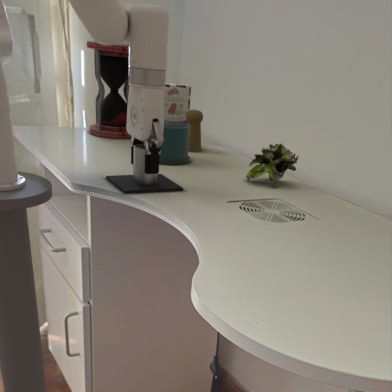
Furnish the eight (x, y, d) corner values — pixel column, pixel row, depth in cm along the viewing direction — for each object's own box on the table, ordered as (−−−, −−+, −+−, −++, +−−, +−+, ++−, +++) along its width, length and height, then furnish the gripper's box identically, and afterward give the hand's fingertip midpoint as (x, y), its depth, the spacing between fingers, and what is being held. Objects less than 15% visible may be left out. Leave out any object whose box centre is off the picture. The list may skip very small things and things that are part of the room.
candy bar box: (184, 140, 155) (188, 84, 146) (187, 143, 151) (192, 86, 142) (150, 138, 152) (152, 81, 143) (153, 142, 148) (155, 83, 139)
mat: (124, 193, 100) (124, 190, 99) (106, 178, 108) (106, 175, 108) (183, 190, 106) (183, 187, 106) (161, 176, 114) (161, 173, 114)
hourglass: (117, 141, 144) (117, 45, 131) (78, 131, 151) (74, 39, 137) (148, 135, 156) (151, 47, 142) (111, 127, 163) (111, 41, 149)
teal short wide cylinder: (152, 165, 123) (154, 128, 118) (133, 153, 132) (134, 118, 127) (198, 164, 128) (201, 128, 123) (176, 153, 138) (178, 119, 133)
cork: (205, 150, 145) (208, 111, 139) (194, 152, 141) (197, 112, 135) (189, 146, 148) (192, 107, 141) (177, 148, 143) (180, 108, 137)
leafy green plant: (267, 200, 125) (297, 162, 122) (279, 205, 115) (312, 164, 112) (235, 172, 121) (266, 132, 118) (245, 175, 111) (279, 131, 108)
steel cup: (138, 185, 104) (139, 149, 99) (129, 178, 108) (129, 143, 103) (160, 184, 106) (162, 149, 102) (151, 178, 110) (152, 143, 106)
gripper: (115, 72, 100) (115, 159, 110) (146, 83, 88) (144, 180, 97) (147, 74, 103) (145, 159, 113) (182, 85, 91) (176, 178, 101)
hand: (144, 168), depth 105 cm, fingers open, 7 cm apart
